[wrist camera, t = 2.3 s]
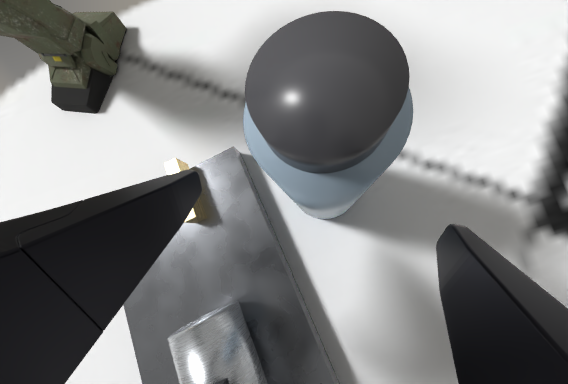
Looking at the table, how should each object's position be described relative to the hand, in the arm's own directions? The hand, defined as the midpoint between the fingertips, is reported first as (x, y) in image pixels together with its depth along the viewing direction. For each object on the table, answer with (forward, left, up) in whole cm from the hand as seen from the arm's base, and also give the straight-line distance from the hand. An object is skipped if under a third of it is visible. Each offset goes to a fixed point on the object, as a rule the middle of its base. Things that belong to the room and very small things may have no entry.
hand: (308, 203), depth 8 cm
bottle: (+2, -2, -10) cm, 10 cm away
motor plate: (-2, +10, -10) cm, 14 cm away
